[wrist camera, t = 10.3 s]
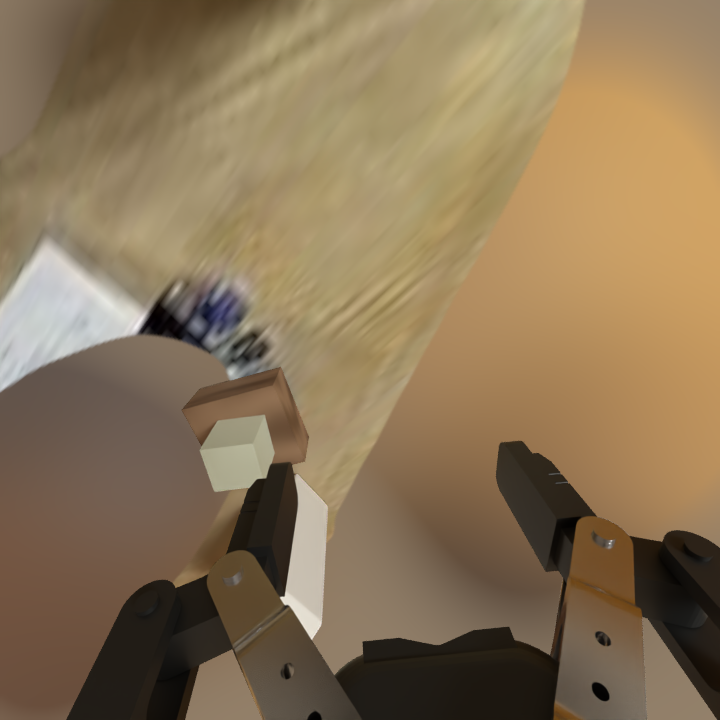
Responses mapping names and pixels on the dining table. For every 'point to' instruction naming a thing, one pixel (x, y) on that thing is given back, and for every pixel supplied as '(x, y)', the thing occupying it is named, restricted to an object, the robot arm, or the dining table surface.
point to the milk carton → (307, 559)
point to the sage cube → (237, 452)
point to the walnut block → (253, 411)
